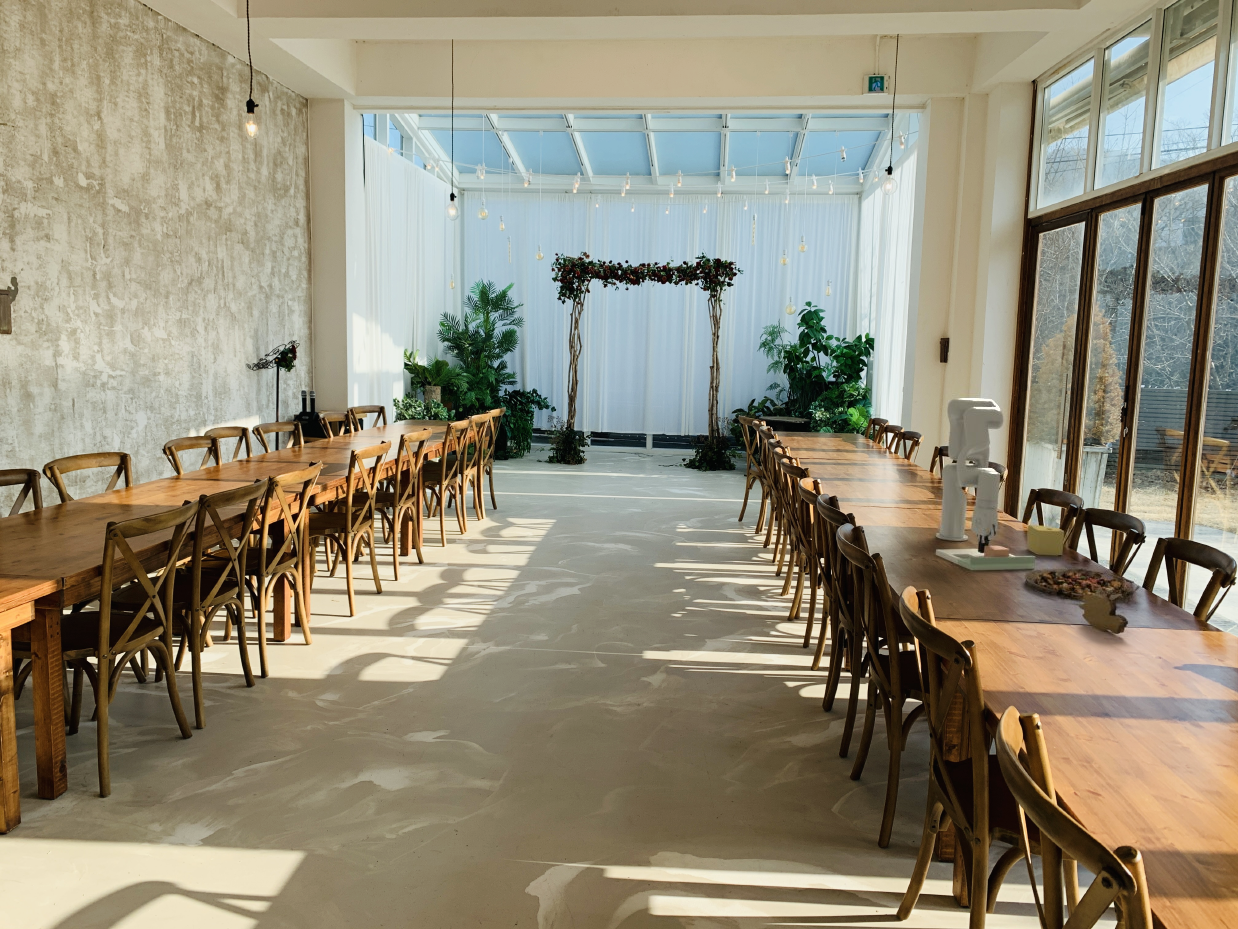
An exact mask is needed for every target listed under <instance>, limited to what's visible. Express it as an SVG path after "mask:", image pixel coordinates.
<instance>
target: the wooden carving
mask: <svg viewBox="0 0 1238 929" xmlns="http://www.w3.org/2000/svg"><path fill="white" fill-rule="evenodd" d="M1083 602H1084V603H1083V604H1079V605H1078V608H1079V609H1080V610H1083V614H1082V615H1081V616H1082V618H1083V619H1084V620H1085V621H1086V623H1088V625H1090V626H1091V627H1092V628H1094V629H1096V630H1098V631H1101V632H1102V631H1103V632H1104V631H1105V632H1106V631H1110V632H1111V633H1112V634H1115V635H1118V634H1123V633H1124V632H1125V628H1126V627H1127V625H1128V624H1129V621H1128V620H1127V618H1126V617H1125V616H1124V615H1121V614H1117V605H1116V604H1117V603H1116V604H1115V602H1114V601H1111V600H1110V599H1109V598H1108V597H1107V596H1105V595H1101V594H1086V595H1085V597H1084V601H1083Z"/></svg>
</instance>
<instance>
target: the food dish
mask: <svg viewBox="0 0 1238 929" xmlns="http://www.w3.org/2000/svg"><path fill="white" fill-rule="evenodd" d="M1103 575H1106V573H1104V572H1103V571H1101V572H1100V571H1096V570H1090V569H1089V570H1087V569H1084V568H1078V567H1077V568H1045V569H1036V570H1034V569H1033V570H1030V571H1028V572H1026V573H1025V575H1024V580H1025V581H1024V582H1025V583H1026V585H1028V586H1029V587H1030V588H1031V589H1033V590H1034V591H1036V592H1038V593H1042V594H1045V595H1049V596H1053V597H1059V598H1060V599H1063V600H1064V599H1065V600H1073V601H1080V602H1081V601H1082V602H1085V601H1084V597H1085V595H1086V594H1101V595H1105V596H1107V597H1108V598H1109V599H1110V600H1111V601H1114V602H1115V604H1120V603H1126V604H1127V603H1128V602H1129V601H1131V600H1132V598H1133V595H1134V593H1135V592H1136V591H1138V590H1139V589H1140V586H1139V585H1138V586H1136V588H1135V589H1134V590H1130V589H1129V590H1128V584H1127V583H1130V584H1134V583H1135V580H1134V581H1133V580H1130V579H1128V578H1122V577H1121V576H1118V575H1113V574H1110V573H1109V574H1108V576H1111V577H1114V578H1111V579H1109V578H1104V577H1103ZM1102 577H1103V578H1102ZM1121 580H1124V581H1125V582H1126V583H1121V582H1120V581H1121Z"/></svg>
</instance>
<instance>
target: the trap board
mask: <svg viewBox="0 0 1238 929" xmlns="http://www.w3.org/2000/svg"><path fill="white" fill-rule="evenodd" d="M935 550H936V551H935V556H938V557H940V558H942V559H945V560H947V561H949V562H952V563H954V564H955V565H958V566H960V567H963V568H965V569H968V570H970V571H989V570H990V571H992V570H993V571H995V570H998V571H999V570H1031V569H1032V570H1034V569H1035V564H1036V556H1034V555H1015V554H1014V555H1013V554H1011V553H1009V557H984V553H979V552H978V548H951V549H947V548H946V549H945V548H944V549H935Z"/></svg>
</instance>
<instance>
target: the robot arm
mask: <svg viewBox="0 0 1238 929" xmlns="http://www.w3.org/2000/svg"><path fill="white" fill-rule="evenodd" d="M947 416H948V417H947V419H948V421H949V435H948V436H949V437H948V445H947V446H948V448H947V450H948V451H947V455H948V457H949V459H950V460H953V461H956V463H955V462H953V463H948V464H945V465H944V466H943V467H942V470H941V477H942V478H941V479H942V501H941V516H940V517H941V519H940V525H939V526H937V529H938V530H939V532H937V533H935V537H936V538H938V539H940V540H944V541H950V542H953V541H954V542H963V541H968V540H969V536H968V535H966V534H965V530H966V519H967V518H966V517H967V516H966V514H967V505H968V504H967V501H968V498H967V495H966V493H965V491H964V490H963V488H976V497H975V498H976V499H975V506H974V508H973V513H972V517H971V526H970V529H971V531H972V532H973V533H974V535H975V536H976V537H977V541H978V545H977V547H978V548H977V549H978V552H979V553H984V549H985V546H990V544H989V543H991V541H994V540H995V537H996V536H997V534H998V526H999V525H998V521H999V518H998V516H999V515H998V507H999V493H1000V482H1001V481H1000V480H1001V475H1000V472H997V471H996V470H995V469H994V468H990V467H989V462H990V461H989V460H990V453H991V452H990V450H991V449H990V444H991V439H990V432H989V430H998V429H1001V428H1002V426H1003V424H1004V414H1003V411H1002V408H1001V407H1000V406H999V405H998V404H997V403H996V402H995V401H994V400H993V399H989V398H970V397H969V398H962V397H959V398H954V399H951V400H950V401H949V403H948V405H947ZM967 462H974V463H967ZM962 487H963V488H962Z"/></svg>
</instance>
